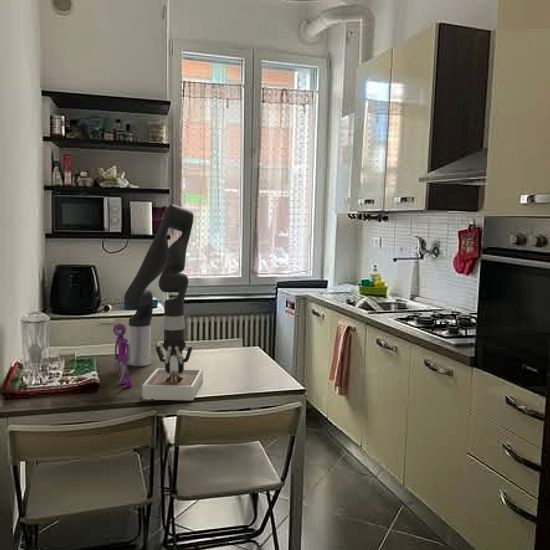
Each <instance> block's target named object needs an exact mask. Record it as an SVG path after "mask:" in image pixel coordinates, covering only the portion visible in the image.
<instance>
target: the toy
mask: <svg viewBox="0 0 550 550" xmlns="http://www.w3.org/2000/svg"><path fill="white" fill-rule="evenodd" d="M112 328H113V330H112V332H113V333H114V335H115V336H117V337H116V341H115V344H114V359H113V360H112V362H113V363H112V364H113V369H114V374H115V375H116V376H115V377H116V378H117V379H118V380H119V382H118V383H117V384H116V386H122V387H121V389H128V388H127V387H129V388H132V387H133V384H132V382H131V379H130V375H129V373H130V371H129V370H128V361H129V357H128V352H129V346H128V343H129V339H126V338H124V335H125V334H126V331H127V328H126V326H125V324H123V323H116V324H113V327H112ZM120 362H121V363H122V365H121V363H120ZM117 376H118V377H117ZM121 384H123V385H121Z"/></svg>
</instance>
